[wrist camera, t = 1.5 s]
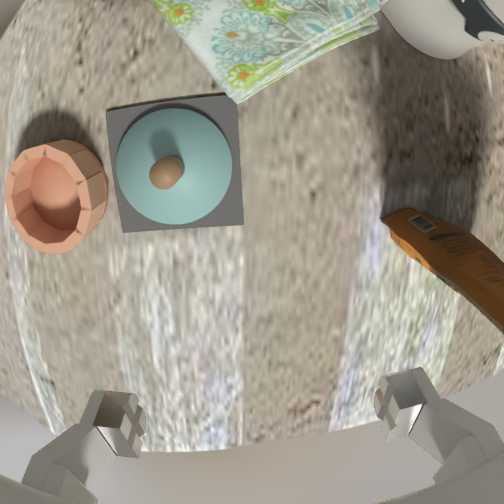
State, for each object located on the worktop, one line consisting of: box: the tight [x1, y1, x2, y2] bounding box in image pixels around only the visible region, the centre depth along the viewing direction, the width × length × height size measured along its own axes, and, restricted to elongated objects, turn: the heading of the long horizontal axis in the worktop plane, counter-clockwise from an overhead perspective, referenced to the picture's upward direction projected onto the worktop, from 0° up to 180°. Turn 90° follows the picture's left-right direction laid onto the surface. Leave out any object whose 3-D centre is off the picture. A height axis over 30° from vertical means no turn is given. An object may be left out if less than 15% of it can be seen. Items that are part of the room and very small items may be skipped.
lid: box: [116, 108, 232, 224], centre depth 30 cm, size 12×12×4 cm
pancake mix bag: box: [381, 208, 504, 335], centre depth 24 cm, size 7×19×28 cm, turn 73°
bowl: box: [4, 139, 108, 254], centre depth 31 cm, size 12×12×5 cm
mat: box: [106, 95, 244, 233], centre depth 32 cm, size 14×14×1 cm
